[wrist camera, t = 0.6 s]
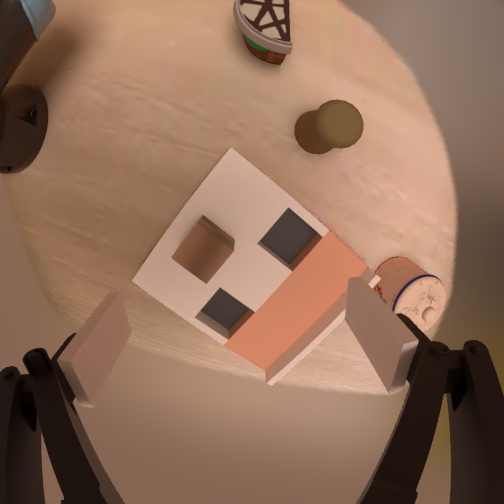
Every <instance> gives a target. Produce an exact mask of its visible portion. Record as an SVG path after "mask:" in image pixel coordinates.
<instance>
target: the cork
mask: <svg viewBox="0 0 504 504" xmlns="http://www.w3.org/2000/svg"><path fill="white" fill-rule="evenodd" d="M362 132H363V119H362V116H361V114H360V113H359V111H358V109H357V108H355V107H354V106H353V105H352V104H350V103H348V102H346V101H343V100H331V101H328V102H326V103H324V104H322V105H321V106H320V107H319V109H318V110H314V111H309V112H306V113H304V114H303V115H301V116H300V118H299V119H298V120H297V122H296V125H295V137H296V140H297V142H298V143H299V145H300V146H301V147H302V148H303V149H304V150H305V151H307V152H310V153H312V154H323V153H326V152H328V151H330V150H331V149H333V148H346V147H350V146H352V145H353V144H355V143H356V142H357V141H358V140H359V138H360V137H361V135H362Z"/></svg>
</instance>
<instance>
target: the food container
mask: <svg viewBox="0 0 504 504" xmlns="http://www.w3.org/2000/svg"><path fill="white" fill-rule="evenodd" d="M233 11H234V17H235V21H236V23H237V25H238V27H239V28H240V29H241V31H242V32H243V37H244V41H245V44H246V46H247V48H248V49H249V50H250V52H251V53H252V54H253V55H255V56H256V57H258V58H259V59H261V60H263V61H266V62H268V63H272V64H278V65H281V63H282V62H283V60H284V58H285V56H286V55H287V54H290V52H291V49H292V44H293V43H291V42H290V20H289V0H235V2H234V7H233Z"/></svg>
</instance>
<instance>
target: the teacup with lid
mask: <svg viewBox="0 0 504 504" xmlns="http://www.w3.org/2000/svg"><path fill="white" fill-rule="evenodd" d="M375 273H376V274H377V275H378V276H379V277H380V278H381V280H380V281H379V282H378V283H377V284H376V285H375V286H374V287H373V288H372V289H373V290H374V291H375V292H376V293H377V294H378V296H379V297H380V298H381V299H382V300H383V301H384V302H385V303H386V304H387V305H388V306H389V307H390V309H391V310H392V311H393V312H394V313H395V314H397V313H402V314H404V315H406V316H408V317H409V318H410V319H411V320H412V321H413V322H414V324H416V325H417V326H418V328H419V329H420V330H421V331H422V332H424V331H426V330H427V329H429V328H430V327H431V326H432V325H433V324H434V323H435V322H436V321H437V319H438V318H439V316H440V315H441V313H442V311H443V308H444V305H445V300H446V293H445V288H444V286H443V284H442V282H441V281H440V279H439V278H437V277H436V276H434V275H430V274H429V273H427V272H426V271H424V270H423V269H421V268H420V267H418V266H417V265H416V264H414V263H413V262H411V261H410V260H408V259H406V258H403V257H396V258H392V259H389V260H387V261H386V262H384V263H383V264H382V265H381V266H380V267H379V268H378V269H377V271H376V272H375Z"/></svg>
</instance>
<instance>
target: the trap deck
mask: <svg viewBox="0 0 504 504" xmlns="http://www.w3.org/2000/svg"><path fill="white" fill-rule="evenodd" d="M202 215H204V216H205V217H207V218H208V219H209V220H211V221H212V222H213V223H214V224H216V225H217V226H218V227H220V228H221V229H222V230H223V231H225V232H226V233H227V234H229V235H230V236H231V237H232V238H234V239H235V244H234V252H233V253H232V254H231V255H230V257H229V258H228V259H227V260H226V261H225V263H224V264H223V265H222V266H221V267H220V269H219V270H218V271H217V272H216V273H215V275H214V276H213V277H212V278H211V279H210V281H209V282H208V283H207V284H205V283H204V282H203V281H201V280H200V279H199V278H197V277H196V276H194V275H193V274H192V273H190V272H189V271H188V270H186V269H185V268H184V267H182V266H181V265H180V264H178V263H177V262H176V261H174V260H173V259H172V258H171V257H172V255H173V254H174V253H175V251H176V250H177V248H178V247H179V246H180V244H181V243H182V242H183V240H184V239H185V238H186V236H187V235H188V234H189V232H190V231H191V230H192V228H193V227H194V226H195V225H196V223H197V222H198V221H199V219H200V218H201V217H202ZM351 277H362V279H363V280H364V281H365V282H366V283H367V284H368V285H369V286H370V287H371V288H373V287H374V286H375V285H376V284H377V283H378V282H379V281H380V280H381V278H380V277H379V276H378V275H377V274H376V273H375V272H373V271H372V270H371V269H370V268H369V267H368V266H367V265H366V264H365V263H364V262H363V261H362V260H361V259H360V258H359V257H358V256H356V255H355V254H354V253H353V252H352V251H351V250H350V249H349V248H348V247H347V246H346V245H345V244H344V243H343V242H342V241H340V240H339V239H338V238H337V237H336V236H335V235H334V234H333V233H332V232H331V231H330V230H328V229H327V228H326V227H325V226H324V225H323V224H322V223H321V222H320V221H318V220H317V219H316V218H315V217H314V216H313V215H312V214H311V213H309V212H308V211H307V210H306V209H305V208H304V207H303V206H301V205H300V204H299V203H298V202H297V201H296V200H294V199H293V198H292V197H291V196H290V195H289V194H287V193H286V192H285V191H284V190H283V189H282V188H280V187H279V186H278V185H277V184H276V183H274V182H273V181H272V180H271V179H270V178H268V177H267V176H266V175H265V174H264V173H262V172H261V171H260V170H259V169H257V168H256V167H255V166H254V165H252V164H251V163H250V162H249V161H247V160H246V159H245V158H244V157H242V156H241V155H240V154H239V153H237V152H236V151H235V150H234V149H232V148H230V149H229V150H228V151H227V153H226V154H225V155H224V156H223V157H222V159H221V160H220V161H219V162H218V164H217V165H216V166H215V167H214V169H213V170H212V171H211V172H210V174H209V175H208V176H207V177H206V179H205V180H204V181H203V182H202V184H201V185H200V186H199V188H198V189H197V190H196V191H195V193H194V194H193V195H192V197H191V198H190V199H189V201H188V202H187V203H186V205H185V206H184V207H183V209H182V210H181V211H180V213H179V214H178V215H177V217H176V218H175V219H174V221H173V222H172V224H171V225H170V226H169V228H168V229H167V230H166V232H165V233H164V235H163V236H162V237H161V239H160V240H159V242H158V243H157V245H156V246H155V247H154V249H153V250H152V252H151V253H150V255H149V256H148V258H147V259H146V261H145V262H144V264H143V265H142V266H141V268H140V269H139V271H138V272H137V274H136V276H135V277H134V279H133V280H132V281H133V282H134V283H135V284H137V285H138V286H139V287H141V288H142V289H143V290H145V291H146V292H147V293H149V294H150V295H151V296H153V297H154V298H155V299H157V300H158V301H159V302H161V303H162V304H164V305H165V306H166V307H168V308H169V309H171V310H172V311H173V312H175V313H176V314H178V315H179V316H181V317H182V318H183V319H185V320H186V321H188V322H189V323H191V324H192V325H194V326H195V327H197V328H198V329H200V330H201V331H203V332H204V333H206V334H207V335H209V336H210V337H212V338H213V339H215V340H216V341H218V342H219V343H221V344H223V345H224V346H226V347H227V348H229V349H231V350H232V351H234V352H235V353H237V354H239V355H240V356H242V357H243V358H245V359H247V360H248V361H250V362H252V363H253V364H255V365H257V366H258V367H260V368H262V369H264V370H265V374H266V383H267V384H269V385H271V386H272V385H273V384H274V383H275V382H277V381H278V380H279V379H280V378H281V377H282V376H284V375H285V374H286V373H287V372H288V371H289V370H290V369H292V368H293V367H294V366H295V365H296V364H297V363H298V362H299V361H300V360H302V359H303V358H304V357H305V356H306V355H307V354H308V353H309V352H310V351H311V350H312V349H313V348H315V347H316V346H317V345H318V344H319V343H320V342H321V341H322V340H323V339H324V338H325V337H326V336H327V335H328V334H329V333H330V332H331V331H332V330H333V329H334V328H335V327H336V326H337V325H338V324H339V323H340V322H341V321H342V320H343V319H344V318H345V311H346V302H347V291H348V280H349V278H351Z"/></svg>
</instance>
